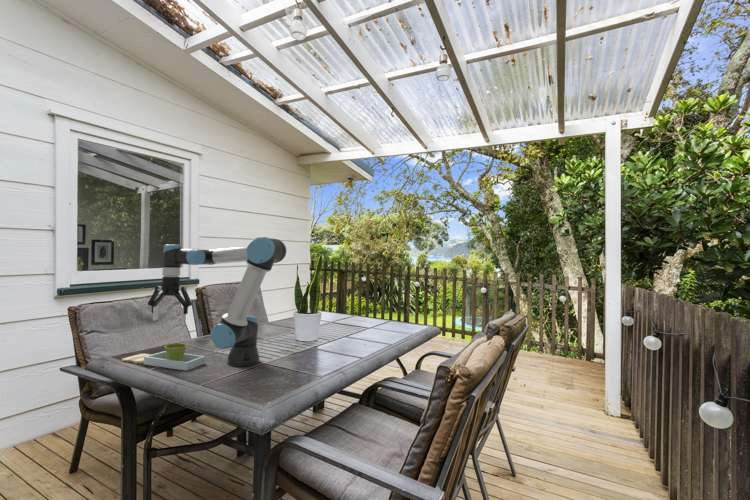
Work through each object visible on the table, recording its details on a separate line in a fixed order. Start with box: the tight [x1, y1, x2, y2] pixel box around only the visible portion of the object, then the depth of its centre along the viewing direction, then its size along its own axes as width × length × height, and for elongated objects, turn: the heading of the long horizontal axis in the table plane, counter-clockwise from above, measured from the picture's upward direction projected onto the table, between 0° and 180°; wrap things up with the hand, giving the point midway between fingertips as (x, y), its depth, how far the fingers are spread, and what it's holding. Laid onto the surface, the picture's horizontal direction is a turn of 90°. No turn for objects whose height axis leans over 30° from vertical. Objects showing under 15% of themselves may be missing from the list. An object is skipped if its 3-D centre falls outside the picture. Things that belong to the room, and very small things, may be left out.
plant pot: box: [164, 343, 188, 362], centre depth 175 cm, size 9×9×9 cm
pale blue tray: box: [143, 350, 206, 371], centre depth 175 cm, size 24×12×4 cm, turn 76°
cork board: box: [120, 352, 152, 365], centre depth 180 cm, size 12×12×1 cm
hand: (169, 320), depth 177 cm, fingers open, 13 cm apart
